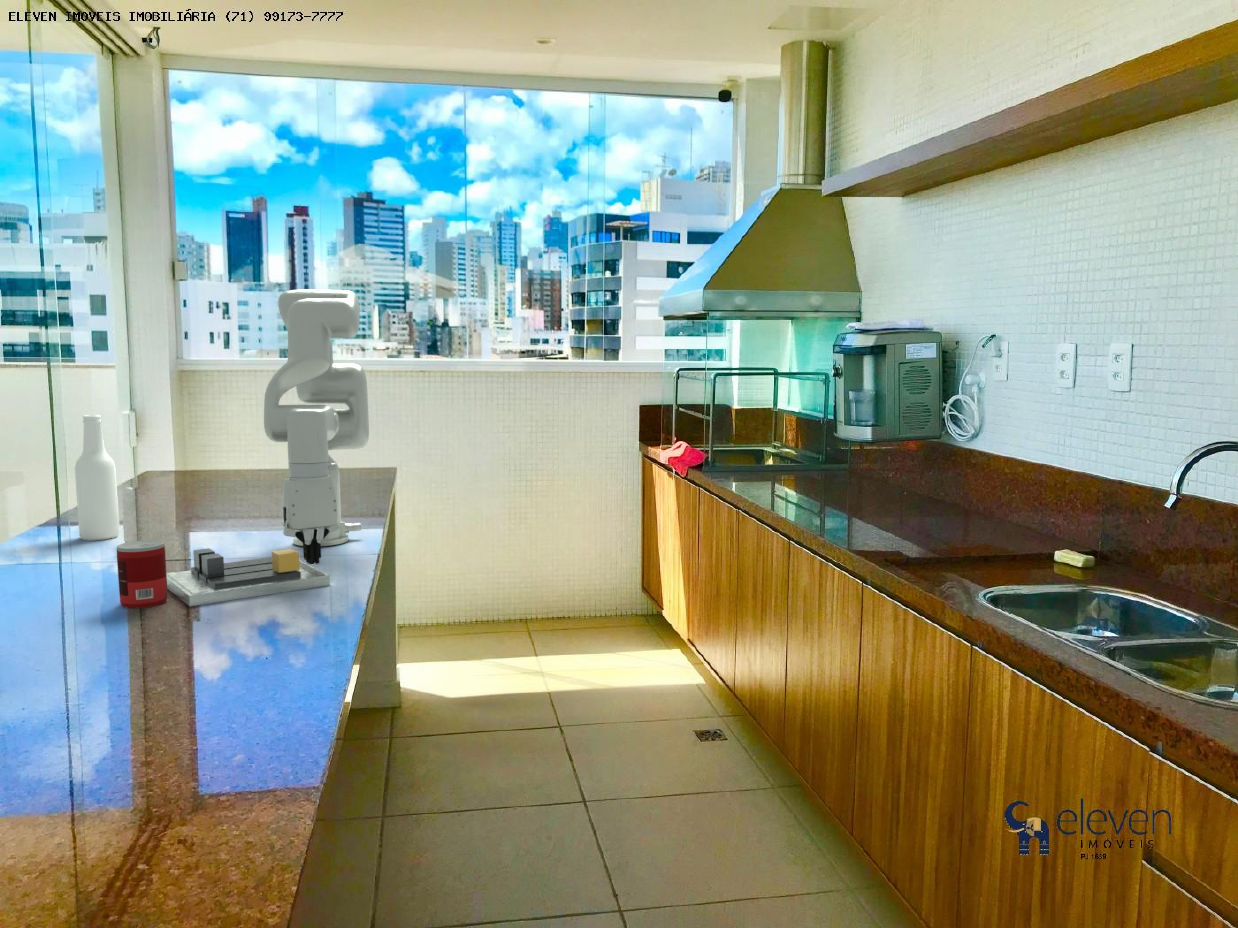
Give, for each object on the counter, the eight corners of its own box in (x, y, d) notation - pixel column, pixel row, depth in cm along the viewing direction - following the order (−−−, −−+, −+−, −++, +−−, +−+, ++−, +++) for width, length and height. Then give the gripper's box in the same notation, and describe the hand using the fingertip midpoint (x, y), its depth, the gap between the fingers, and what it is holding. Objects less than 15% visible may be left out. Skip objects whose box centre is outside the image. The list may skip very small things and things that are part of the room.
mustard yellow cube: (292, 566, 195) (292, 548, 194) (299, 569, 192) (299, 552, 191) (272, 568, 192) (271, 551, 192) (279, 572, 189) (278, 554, 189)
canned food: (177, 599, 182) (174, 541, 181) (143, 610, 175) (140, 549, 173) (144, 596, 185) (141, 538, 183) (110, 606, 177) (106, 546, 176)
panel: (293, 566, 210) (292, 536, 209) (330, 585, 193) (328, 552, 192) (162, 584, 194) (160, 551, 193) (189, 606, 177) (187, 571, 177)
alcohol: (71, 539, 239) (62, 416, 235) (102, 532, 247) (94, 413, 243) (97, 542, 236) (89, 417, 232) (128, 535, 244) (120, 414, 240)
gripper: (338, 466, 200) (341, 554, 202) (264, 472, 191) (268, 564, 193) (353, 469, 194) (356, 561, 197) (277, 476, 185) (281, 571, 188)
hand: (312, 562), depth 195 cm, fingers closed
